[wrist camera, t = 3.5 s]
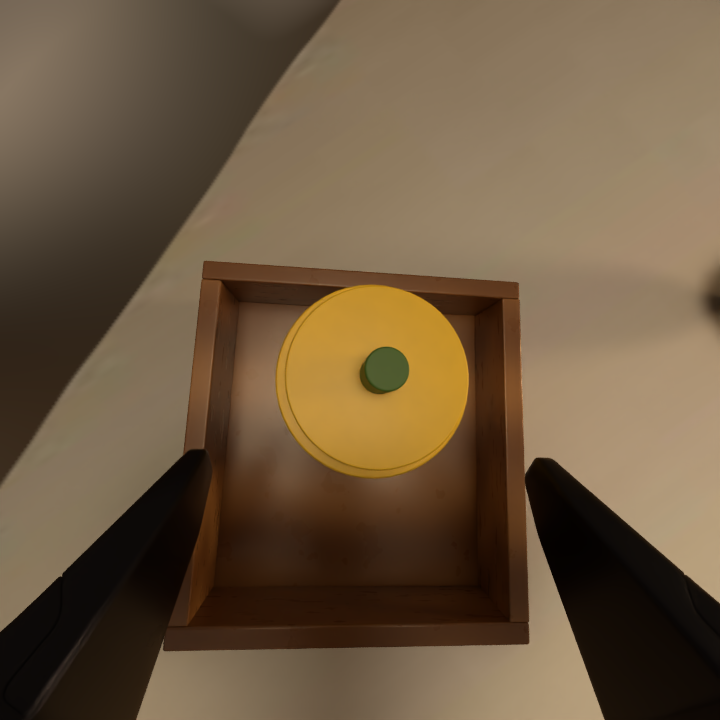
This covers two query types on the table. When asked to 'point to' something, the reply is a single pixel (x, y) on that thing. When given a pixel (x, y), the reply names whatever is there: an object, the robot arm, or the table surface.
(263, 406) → the wooden tray
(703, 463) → the table surface
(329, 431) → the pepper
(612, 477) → the table surface
